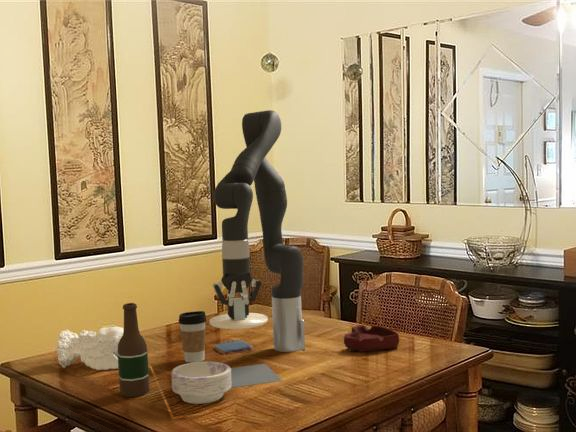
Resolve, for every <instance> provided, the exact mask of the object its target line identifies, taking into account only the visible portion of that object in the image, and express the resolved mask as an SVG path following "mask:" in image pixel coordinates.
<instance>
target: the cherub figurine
mask: <svg viewBox="0 0 576 432" xmlns="http://www.w3.org/2000/svg"><path fill="white" fill-rule="evenodd" d="M123 331H124V327H122V326H121V327H120V326H117V325H115V326H110V327H101V328H99V329H98V331H97V333H96V331H93V330H89V331H88V330H85V329H81V331H80V333H79V334H77V333H76V332H72V331H70V330H69V329H65V330H62V331H61V332H60V333H59V334H58V341H57V342H56V343H57V344H56V353H57V360H58V364H59V365H60V366H61V367H62V368H63V369H65V368H67V367H68V366H70V365H71V364H72V363H75V362H76V361H77V359H79V357H80V361H81V363H84V365H85V366H86V367H88V368H91V369H93V370H95V371H108V370H110V369H111V370H117V369H119V368H118V344H119V341H120V339H121V337H122V336H123Z"/></svg>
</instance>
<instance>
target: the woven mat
mask: <svg viewBox="0 0 576 432" xmlns="http://www.w3.org/2000/svg"><path fill="white" fill-rule="evenodd" d="M213 345H214V346H213V347H212V348H213V349H214V350H216V351H217V352H218V353H221V354H223V355H224V356H225V355H233V354H234V355H235V354H241V353H247V352H251V351H255V349H254V346H253V345H251V344H249V343H247V342H245V340H244V341H243V340H242V339H236V340H231V341H226V342H225V341H223V342H218V343H217V344H216V343H213Z"/></svg>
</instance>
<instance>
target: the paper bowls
mask: <svg viewBox="0 0 576 432" xmlns="http://www.w3.org/2000/svg"><path fill="white" fill-rule="evenodd" d="M231 368H232V367H231V366H230V365H229V364H226V363H223V362H219V361H200V362H186V363H184V364H180V365H178V366H175V367H174V368H173V369H172V371H171V389H172V392H174V393H175V394H177V395H179V396H180V398H181V400H182V401H183V402H185V403H189V404H194V405H195V404H196V405H197V404H199V405H200V404H209V403H213V402H216V401H219V400H220V399H222V398H223V397H224V395H225V393H226V392H228V391H229V390H231V389H232V388H231V383H232V381H231V380H232V379H231Z"/></svg>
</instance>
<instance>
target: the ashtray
mask: <svg viewBox="0 0 576 432" xmlns="http://www.w3.org/2000/svg"><path fill="white" fill-rule="evenodd" d="M343 344H344V346H345V348H347V349H348V350H350V351H351V352H353V353H357V352H367V351H378V350H379V351H380V350H391V349H396V348H397V347H398V346H399V344H400V336H399V333H398V332H397V331H394V330H392V329H390V328H388V327H387V328H386V327H384V326H381V325H371V327H370V328H367V327H366V325H365V324H359V325H355V326H352V327H351V332H350V333H346V334H345V335H344V337H343Z"/></svg>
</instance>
